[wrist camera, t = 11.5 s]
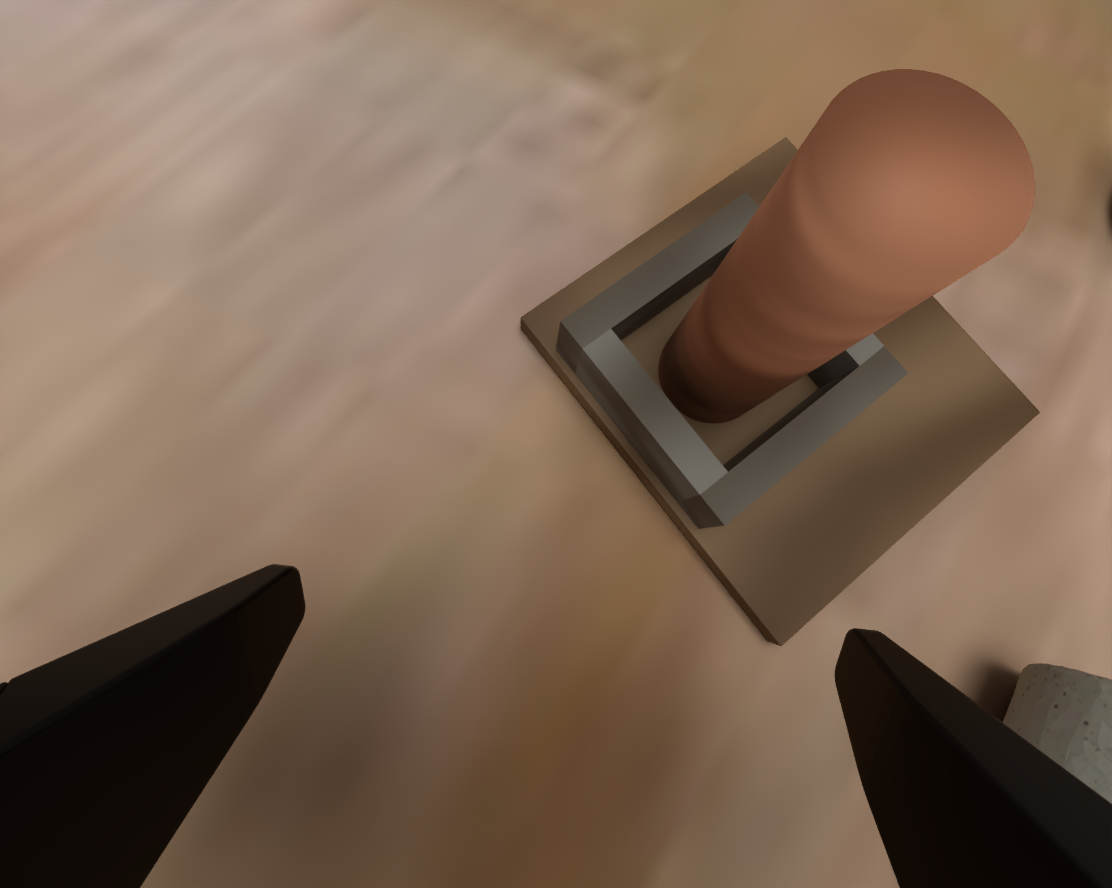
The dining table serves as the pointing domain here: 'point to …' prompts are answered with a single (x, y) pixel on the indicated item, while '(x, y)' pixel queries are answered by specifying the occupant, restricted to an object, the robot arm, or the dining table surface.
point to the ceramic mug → (1067, 720)
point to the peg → (852, 238)
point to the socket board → (776, 416)
